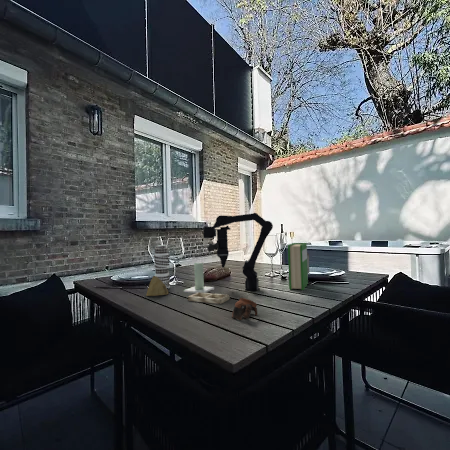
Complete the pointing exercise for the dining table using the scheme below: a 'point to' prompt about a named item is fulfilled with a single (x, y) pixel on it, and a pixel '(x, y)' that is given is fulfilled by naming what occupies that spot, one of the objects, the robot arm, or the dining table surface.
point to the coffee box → (308, 262)
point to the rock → (156, 287)
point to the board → (193, 290)
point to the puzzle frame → (209, 298)
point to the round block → (199, 276)
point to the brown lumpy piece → (246, 310)
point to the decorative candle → (162, 264)
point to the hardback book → (297, 265)
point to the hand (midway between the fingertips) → (223, 266)
